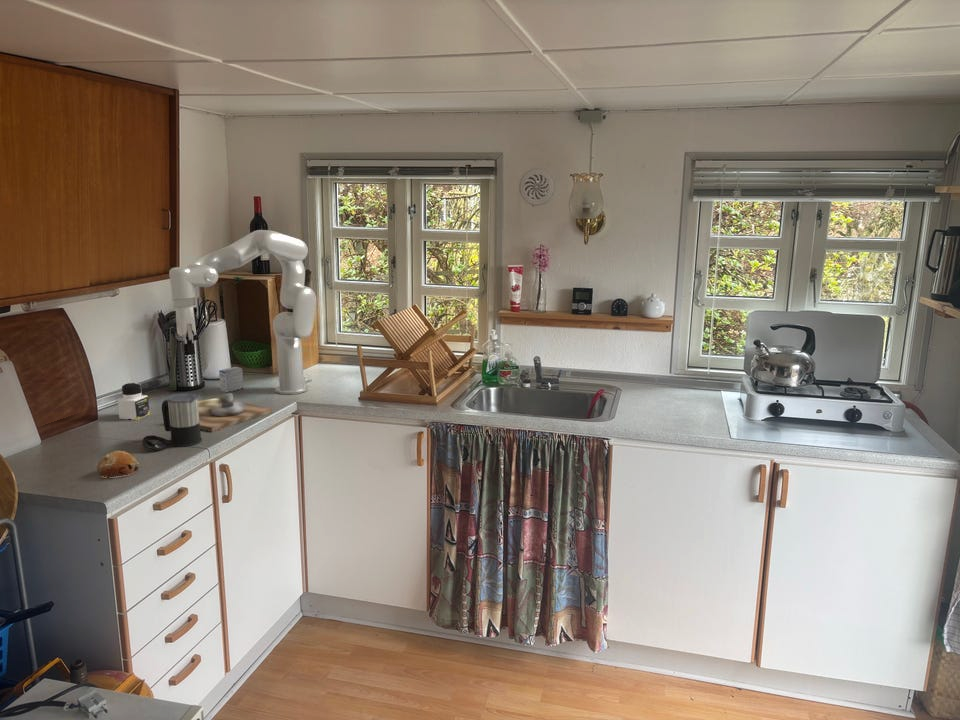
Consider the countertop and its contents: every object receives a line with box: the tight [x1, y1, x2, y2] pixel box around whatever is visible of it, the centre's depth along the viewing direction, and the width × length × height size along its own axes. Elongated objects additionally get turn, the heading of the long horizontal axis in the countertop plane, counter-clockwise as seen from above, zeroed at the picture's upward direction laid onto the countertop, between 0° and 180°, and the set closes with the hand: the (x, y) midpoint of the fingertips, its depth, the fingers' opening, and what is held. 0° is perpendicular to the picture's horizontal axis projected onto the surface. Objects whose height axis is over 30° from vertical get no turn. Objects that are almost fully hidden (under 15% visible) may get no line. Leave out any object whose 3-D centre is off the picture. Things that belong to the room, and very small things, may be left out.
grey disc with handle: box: [198, 392, 245, 416], centre depth 253 cm, size 20×12×6 cm, turn 125°
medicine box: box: [218, 366, 244, 393], centre depth 291 cm, size 8×4×9 cm, turn 144°
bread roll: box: [96, 450, 140, 477], centre depth 203 cm, size 10×10×8 cm
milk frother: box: [141, 393, 203, 451], centre depth 224 cm, size 14×16×15 cm
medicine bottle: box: [117, 382, 151, 421], centre depth 255 cm, size 7×7×12 cm
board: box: [199, 402, 272, 432], centre depth 255 cm, size 26×22×2 cm
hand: (189, 354), depth 256 cm, fingers closed
